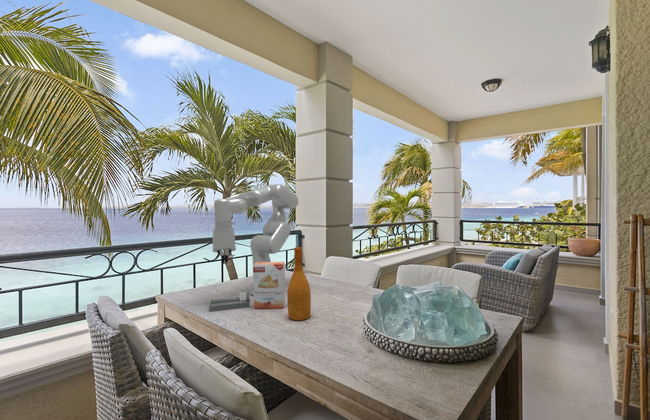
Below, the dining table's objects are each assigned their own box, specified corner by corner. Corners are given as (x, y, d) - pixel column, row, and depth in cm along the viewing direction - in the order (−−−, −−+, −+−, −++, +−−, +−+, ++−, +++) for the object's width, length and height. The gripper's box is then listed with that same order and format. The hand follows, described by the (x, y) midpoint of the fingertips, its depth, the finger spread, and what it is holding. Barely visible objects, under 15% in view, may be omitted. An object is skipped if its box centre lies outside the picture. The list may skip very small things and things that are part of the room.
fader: (245, 298, 154) (245, 288, 154) (246, 301, 149) (246, 290, 149) (239, 299, 153) (239, 288, 153) (239, 302, 148) (239, 291, 148)
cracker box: (253, 309, 144) (252, 264, 144) (256, 305, 150) (255, 261, 150) (284, 308, 144) (282, 263, 144) (285, 304, 150) (284, 261, 150)
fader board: (248, 300, 157) (248, 292, 157) (250, 307, 147) (249, 298, 147) (210, 305, 151) (210, 296, 151) (209, 311, 142) (209, 303, 142)
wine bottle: (314, 314, 136) (312, 245, 135) (305, 322, 127) (304, 248, 126) (293, 312, 139) (292, 245, 139) (283, 320, 130) (282, 248, 129)
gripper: (239, 223, 154) (240, 260, 154) (207, 225, 149) (208, 263, 150) (240, 224, 147) (241, 263, 147) (206, 226, 142) (207, 266, 143)
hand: (224, 263), depth 149 cm, fingers closed
